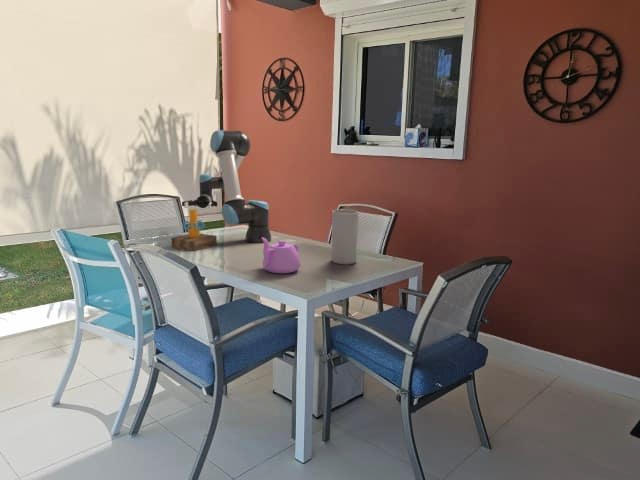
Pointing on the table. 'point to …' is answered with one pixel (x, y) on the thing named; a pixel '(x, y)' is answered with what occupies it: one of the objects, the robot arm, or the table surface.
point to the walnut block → (194, 242)
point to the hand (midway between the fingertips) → (197, 205)
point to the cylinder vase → (344, 236)
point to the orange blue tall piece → (193, 225)
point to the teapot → (281, 257)
